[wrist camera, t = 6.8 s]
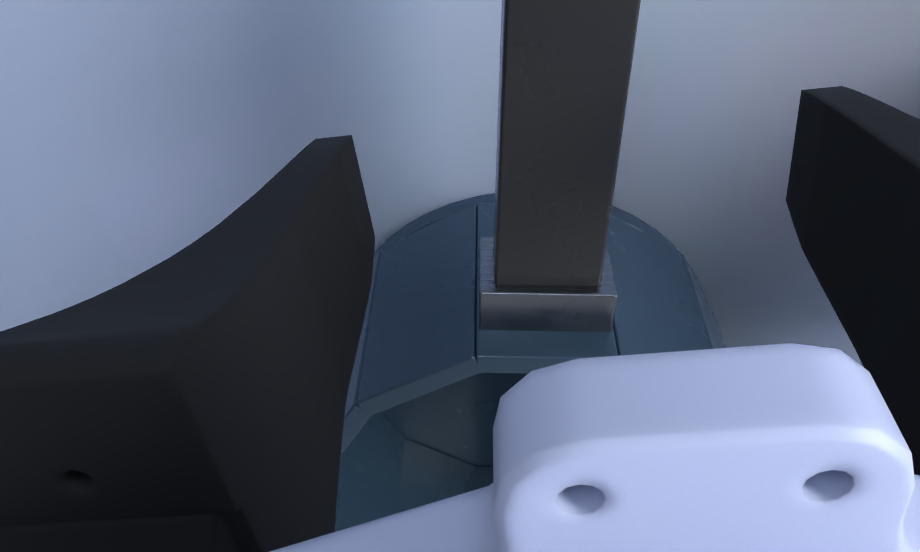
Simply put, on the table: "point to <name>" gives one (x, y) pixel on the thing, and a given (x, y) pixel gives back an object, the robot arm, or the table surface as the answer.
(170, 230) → the table surface
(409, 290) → the saucepan
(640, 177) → the table surface
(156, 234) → the table surface
